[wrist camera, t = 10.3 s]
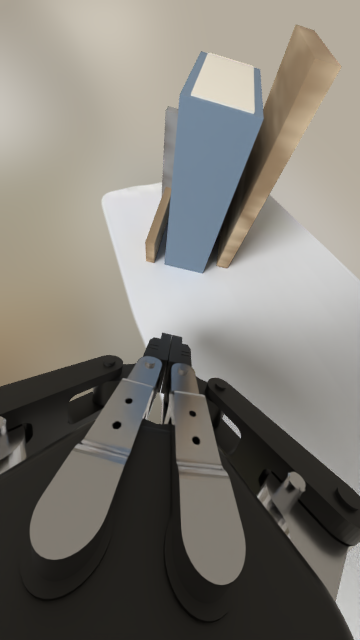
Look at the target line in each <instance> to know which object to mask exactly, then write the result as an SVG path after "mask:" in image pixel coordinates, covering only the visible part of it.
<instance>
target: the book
mask: <svg viewBox="0 0 360 640" xmlns="http://www.w3.org/2000/svg"><path fill="white" fill-rule="evenodd" d="M263 119H264V117H263V103H262V89H261V75H260V69H257V68H254V66H251V65H248V64H245V63H242V62H239V61H235V60H232V59H229V58H225V57H222V56H219V55H216V54H213V53H209V52H208V53H205V52H202V51H201V53H200V55H199V57H198V59H197V61H196V63H195V65H194V67H193V69H192V71H191V73H190V75H189V77H188V79H187V81H186V83H185V85H184V87H183V89H182V91H181V93H180V98H179V110H178V121H177V132H176V143H175V154H174V165H173V176H172V187H171V198H170V209H169V220H168V232H167V243H166V254H165V265H169V266H173V267H177V268H182V269H186V270H190V271H194V272H199V273H203V271H204V268H205V266H206V263H207V261H208V258H209V256H210V253H211V251H212V248H213V246H214V243H215V241H216V238H217V235H218V233H219V230H220V228H221V225H222V223H223V220H224V218H225V215H226V213H227V210H228V208H229V205H230V203H231V200H232V198H233V195H234V192H235V190H236V187H237V185H238V182H239V180H240V177H241V175H242V172H243V170H244V167H245V165H246V162H247V160H248V157H249V155H250V152H251V150H252V147H253V144H254V142H255V139H256V137H257V134H258V132H259V129H260V127H261V124H262V122H263Z"/></svg>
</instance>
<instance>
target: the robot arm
mask: <svg viewBox="0 0 360 640" xmlns="http://www.w3.org/2000/svg"><path fill="white" fill-rule="evenodd" d="M171 337H172V339H171ZM163 377H164V378H163ZM162 381H163V383H162ZM161 385H162V389H161ZM91 388H93V392H90V393H88V394H86V395H84V396H81V397H79V398H77V399H75V400H72V401H70V399H71V398H72V397H73V396H75V395H77V394H79V393H81V392H83V391H86V390H88V389H91ZM160 389H161V393H164V399H163V402H162V413H161V424H155V423H153V422H151V421H148V418H149V415H150V411H151V408H152V405H153V401H154V399H155V397H156V394H157V392H159V393H160ZM69 401H70V402H69ZM224 414H225V415H226V416H227V417H228V418H229V419H230V420H231V421H232V422H233V423H234V424H235V425H236V426H237V427H238V429H239V430H240V433H241V439H240V438H239V436H238V435H237V434H236V433H235V432H234V431H233V430H232V429H231V428H230V427H229V426H228V425H227V424H226V423H225V422H224V420H223V419H222V417H223V415H224ZM359 542H360V496H359V495H358V494H357V493H356V492H355V491H354V490H353V489H352V488H351V487H350V486H348V485H347V484H346V483H345V482H344V481H343V480H341V479H340V478H339V477H338V476H337V475H335V474H334V473H333V472H332V471H331V470H330V469H328V468H327V467H326V466H325V465H324V464H323V463H321V462H320V461H319V460H318V459H317V458H315V457H314V456H313V455H312V454H311V453H310V452H308V451H307V450H306V449H305V448H304V447H302V446H301V445H300V444H299V443H298V442H297V441H295V440H294V439H293V438H292V437H291V436H290V435H288V434H287V433H286V432H285V431H284V430H282V429H281V428H280V427H279V426H278V425H277V424H275V423H274V422H273V421H272V420H271V419H270V418H268V417H267V416H266V415H265V414H264V413H262V412H261V411H260V410H259V409H258V408H257V407H255V406H254V405H253V404H252V403H251V402H250V401H248V400H247V399H246V398H245V397H244V396H242V395H241V394H240V393H239V392H238V391H237V390H235V389H234V388H233V387H232V386H231V385H229V384H228V383H227V382H226V381H224V380H222V379H219V378H211V379H209V381H208V382H205V381H203V380H201V379H199V378H198V377H196V375H195V371H194V369H193V368H192V366H191V349H190V348H189V346H188V345H186V344H182V337H179V336H175V335H170V334H166V333H162V336H161V339H159V338H152V339H151V340H150V341H149V343H148V346H147V348H146V350H145V353H144V356H143V357H141V358H140V359H139V360H138V361H137V363H135V364H127V365H126V364H123V361H122V360H121V359H120V358H119V357H117V356H112V355H106V356H101V357H98V358H95V359H91V360H88V361H85V362H81V363H78V364H75V365H71V366H68V367H64V368H61V369H58V370H55V371H51V372H48V373H45V374H41V375H38V376H34V377H31V378H28V379H25V380H21V381H18V382H14V383H11V384H8V385H4V386H1V387H0V640H354V639H353V636H352V634H351V632H350V629H349V627H348V625H347V623H346V621H345V619H344V617H343V615H342V613H341V611H340V610H339V608H338V606H337V604H336V602H335V601H336V597H337V593H338V589H339V584H340V580H341V576H342V572H343V567H344V563H345V559H346V555H347V552H349V551H350V550H351V549H352V548H353V547H354V546H355V545H356V544H358V543H359Z"/></svg>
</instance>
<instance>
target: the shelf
mask: <svg viewBox="0 0 360 640" xmlns="http://www.w3.org/2000/svg"><path fill="white" fill-rule="evenodd" d="M340 69H341V65H340V64H339V63H338V61H337V60H336V59H335V58H334V56H333V55H332V54H331V52H330V51H329V50H328V48H327V47H326V46H325V44H324V43H323V42H322V40H321V39H320V38H319V36H318V35H317V34H316V32H315V31H314V30H311V29H308V28H305V27H302V26H299V25H295V28H294V31H293V33H292V36H291V38H290V41H289V44H288V46H287V49H286V51H285V54H284V57H283V59H282V62H281V65H280V67H279V70H278V72H277V75H276V78H275V80H274V83H273V86H272V89H271V91H270V94H269V96H268V99H267V101H266V104H265V107H264V109H263V117H264V119H263V122H262V124H261V127H260V129H259V132H258V134H257V137H256V139H255V142H254V144H253V147H252V150H251V152H250V155H249V157H248V160H247V162H246V165H245V167H244V170H243V172H242V175H241V177H240V180H239V182H238V185H237V187H236V190H235V192H234V195H233V198H232V200H231V203H230V205H229V208H228V210H227V213H226V215H225V218H224V220H223V223H222V225H221V230H220V239H219V248H218V256H217V265H216V266H219V267H223V268H228V266H229V264H230V263H231V261H232V259H233V257H234V255H235V254H236V252H237V250H238V248H239V247H240V245H241V243H242V241H243V240H244V238H245V236H246V234H247V233H248V231H249V229H250V227H251V226H252V224H253V222H254V220H255V219H256V217H257V215H258V213H259V211H260V210H261V208H262V206H263V204H264V203H265V201H266V199H267V197H268V196H269V194H270V192H271V190H272V189H273V187H274V185H275V183H276V182H277V180H278V178H279V176H280V175H281V173H282V171H283V169H284V167H285V166H286V164H287V162H288V160H289V159H290V157H291V155H292V153H293V152H294V150H295V148H296V146H297V145H298V143H299V141H300V139H301V138H302V136H303V134H304V132H305V130H306V129H307V127H308V125H309V123H310V122H311V120H312V118H313V116H314V115H315V113H316V111H317V109H318V108H319V106H320V104H321V102H322V101H323V99H324V97H325V95H326V94H327V92H328V90H329V88H330V86H331V85H332V83H333V81H334V79H335V78H336V76H337V74H338V72H339V71H340ZM178 110H179V109H176V108H173V107H169V106H168V107H167V109H166V116H165V138H164V158H163V160H164V161H163V180H162V198H161V201H160V204H159V207H158V209H157V212H156V215H155V217H154V220H153V223H152V226H151V228H150V231H149V234H148V236H147V239H146V242H145V244H146V261H148V262H152V263H154V261H155V258H156V255H157V252H158V249H159V246H160V242H161V239H162V236H163V233H164V230H165V227H166V224H167V220H168V217H169V209H170V198H171V187H172V176H173V165H174V154H175V143H176V132H177V121H178Z"/></svg>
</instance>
